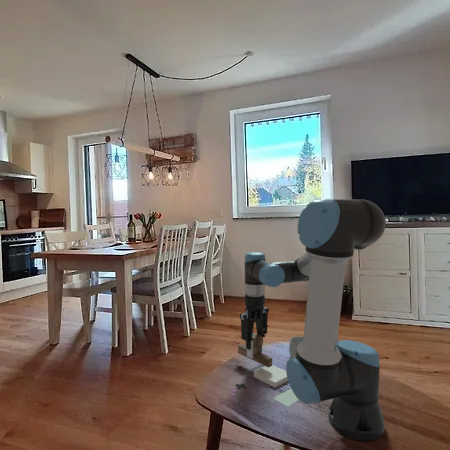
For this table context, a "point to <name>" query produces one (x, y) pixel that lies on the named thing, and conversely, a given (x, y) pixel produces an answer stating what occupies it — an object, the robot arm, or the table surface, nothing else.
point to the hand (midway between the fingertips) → (254, 355)
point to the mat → (253, 369)
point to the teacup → (294, 345)
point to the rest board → (287, 398)
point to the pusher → (256, 351)
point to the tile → (271, 375)
